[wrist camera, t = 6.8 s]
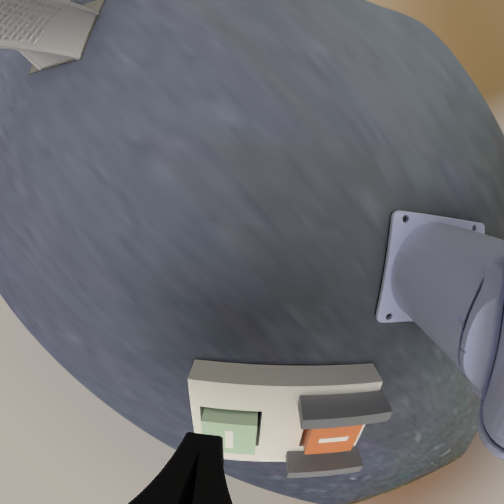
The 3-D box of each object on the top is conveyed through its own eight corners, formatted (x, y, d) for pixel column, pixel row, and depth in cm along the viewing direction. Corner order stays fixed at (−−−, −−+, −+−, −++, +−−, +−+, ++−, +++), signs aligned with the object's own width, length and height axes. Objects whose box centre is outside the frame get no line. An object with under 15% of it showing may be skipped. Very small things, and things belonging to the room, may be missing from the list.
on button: (258, 396, 20) (257, 426, 17) (255, 426, 21) (254, 455, 17) (208, 392, 20) (200, 421, 17) (210, 423, 21) (204, 450, 18)
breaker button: (354, 394, 20) (364, 421, 16) (343, 424, 21) (350, 450, 17) (308, 396, 20) (313, 426, 16) (300, 427, 21) (304, 454, 17)
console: (374, 362, 19) (397, 402, 14) (346, 438, 22) (356, 475, 17) (194, 359, 20) (178, 402, 15) (202, 437, 22) (193, 476, 17)
